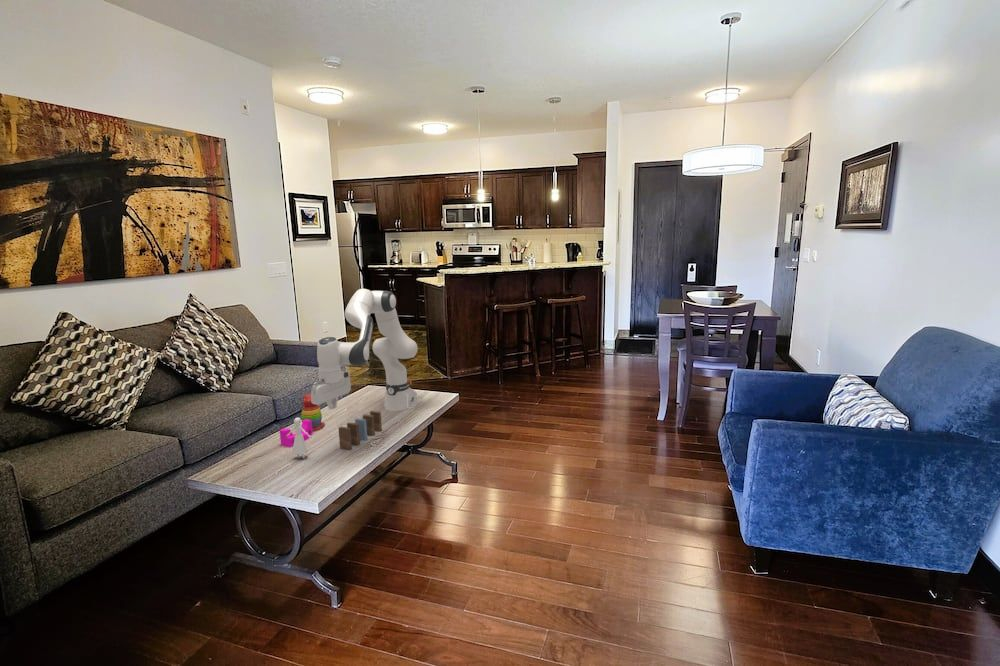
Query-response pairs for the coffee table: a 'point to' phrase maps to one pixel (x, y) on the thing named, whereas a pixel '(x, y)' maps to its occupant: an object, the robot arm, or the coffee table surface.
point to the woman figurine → (299, 439)
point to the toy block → (290, 438)
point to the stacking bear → (312, 413)
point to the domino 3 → (362, 428)
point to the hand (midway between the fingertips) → (332, 408)
